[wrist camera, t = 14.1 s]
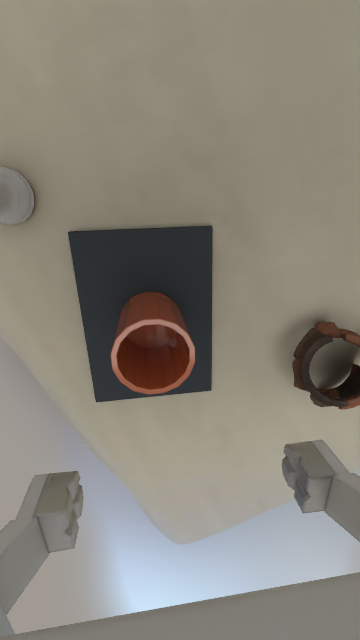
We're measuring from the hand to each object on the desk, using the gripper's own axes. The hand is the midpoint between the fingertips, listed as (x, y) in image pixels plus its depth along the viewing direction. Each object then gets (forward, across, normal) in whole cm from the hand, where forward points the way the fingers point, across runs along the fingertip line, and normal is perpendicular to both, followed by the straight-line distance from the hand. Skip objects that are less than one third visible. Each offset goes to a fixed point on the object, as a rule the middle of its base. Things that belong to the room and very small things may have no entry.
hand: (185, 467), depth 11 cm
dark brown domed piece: (+19, -20, +7) cm, 29 cm away
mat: (+19, +1, +1) cm, 19 cm away
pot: (+19, +1, +1) cm, 19 cm away
